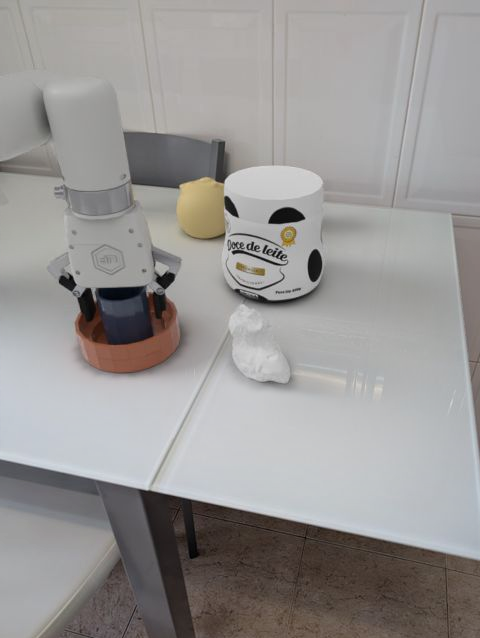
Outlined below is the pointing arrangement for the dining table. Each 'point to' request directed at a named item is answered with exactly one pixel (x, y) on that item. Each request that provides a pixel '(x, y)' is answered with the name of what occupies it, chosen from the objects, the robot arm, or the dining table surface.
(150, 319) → the cup
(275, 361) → the bust
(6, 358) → the dining table surface
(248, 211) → the white doce de leite
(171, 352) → the bowl
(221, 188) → the sculpture
